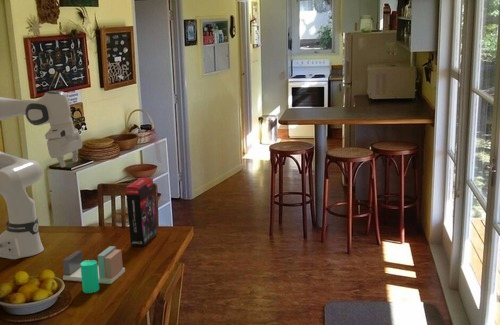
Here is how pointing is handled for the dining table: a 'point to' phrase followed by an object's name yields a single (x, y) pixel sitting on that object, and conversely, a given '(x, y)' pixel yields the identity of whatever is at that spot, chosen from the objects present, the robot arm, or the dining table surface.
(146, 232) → the graphics card box
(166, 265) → the dining table surface
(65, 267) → the bookend
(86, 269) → the candle
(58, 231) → the dining table surface
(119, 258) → the white base with blocks
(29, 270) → the dining table surface
